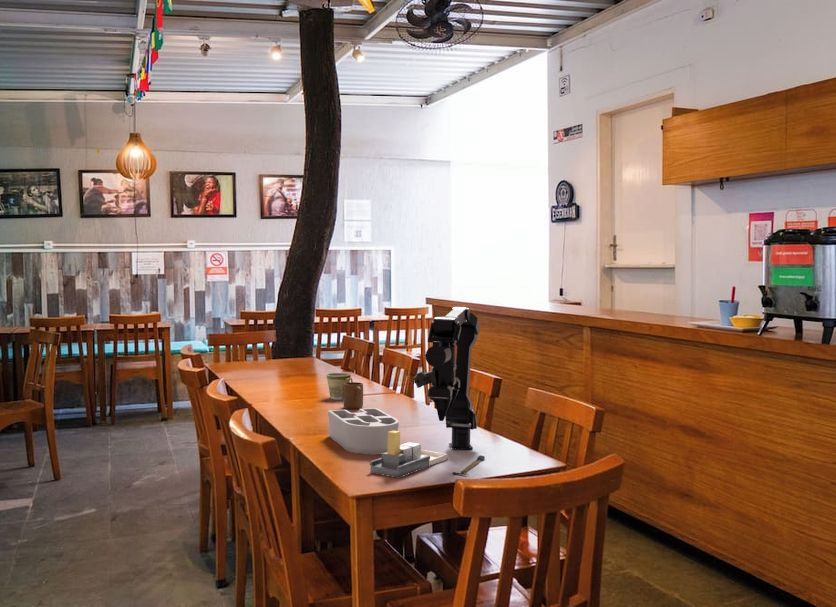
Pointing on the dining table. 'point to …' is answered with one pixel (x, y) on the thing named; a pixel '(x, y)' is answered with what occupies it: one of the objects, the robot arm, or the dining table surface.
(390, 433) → the yellow peg on base
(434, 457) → the tray
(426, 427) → the dining table surface
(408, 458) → the pale grey cube
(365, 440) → the grey compartment organizer
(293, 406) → the dining table surface
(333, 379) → the ceramic cup
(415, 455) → the speckled white cube
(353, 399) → the mug
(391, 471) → the slot deck
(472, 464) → the tactical tomahawk
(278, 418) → the dining table surface
